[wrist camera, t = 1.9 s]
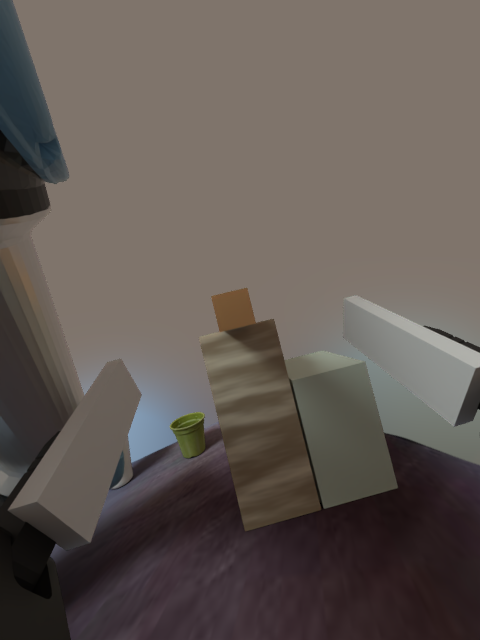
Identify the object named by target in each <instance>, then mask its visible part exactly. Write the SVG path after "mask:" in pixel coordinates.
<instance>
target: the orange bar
mask: <svg viewBox="0 0 480 640" xmlns="http://www.w3.org/2000/svg"><path fill="white" fill-rule="evenodd" d="M212 302H213V306H214V310H215V314H216V318H217V322H218V326H219V331H220V332H223V331H227V330H231V329H235V328H239V327H244V326H248V325H252V324H256V322H255V318H254V314H253V310H252V306H251V302H250V298H249V293H248V289H247V288H244V289H240V290H236V291H231V292H227V293H223V294H219V295H214V296H212Z"/></svg>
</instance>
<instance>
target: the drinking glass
mask: <svg viewBox="0 0 480 640" xmlns="http://www.w3.org/2000/svg"><path fill="white" fill-rule="evenodd" d="M123 453H124V474H123V477H122V479H121V481H120V482H119V483H118V484H117V485H116V486H114V487H113V488H111V489H117V488H119V487H122V486H123V485H125V484H126V483H128V482H129V481H130V480H131V478H132V477H133V470H132V464H131V457H130V449H129V441H128V436H127V439H126V441H125V444H124V447H123Z"/></svg>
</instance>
